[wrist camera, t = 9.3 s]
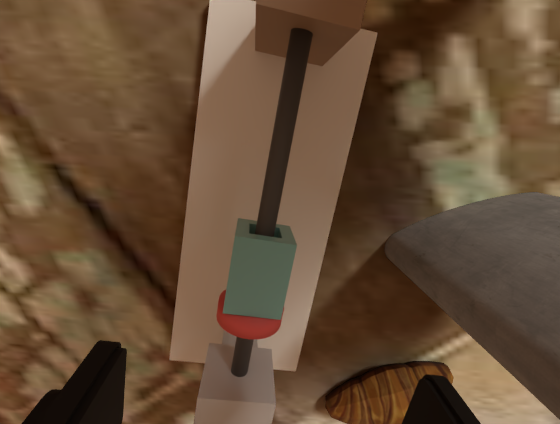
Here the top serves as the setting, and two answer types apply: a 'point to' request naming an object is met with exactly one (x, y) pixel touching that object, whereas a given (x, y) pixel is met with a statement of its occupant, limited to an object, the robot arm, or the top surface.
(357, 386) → the croissant
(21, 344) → the top surface
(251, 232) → the sleeve
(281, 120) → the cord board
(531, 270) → the hip flask
